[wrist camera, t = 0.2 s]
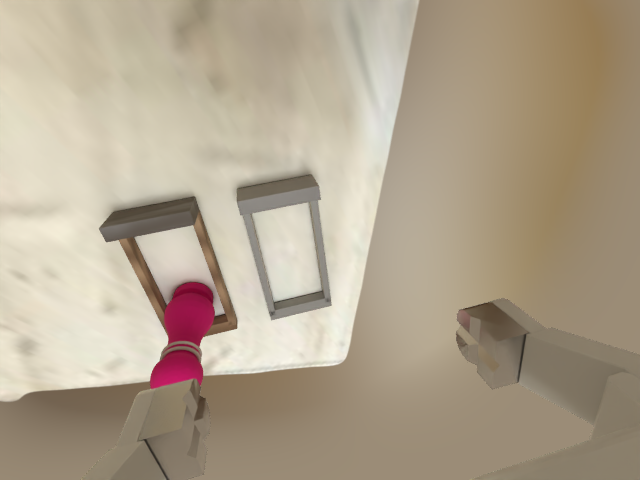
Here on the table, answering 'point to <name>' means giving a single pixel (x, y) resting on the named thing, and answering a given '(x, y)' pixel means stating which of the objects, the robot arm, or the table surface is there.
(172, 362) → the pepper mill
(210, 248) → the brown wooden rectangular frame
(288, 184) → the grey open rectangular frame
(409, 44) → the table surface
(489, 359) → the robot arm
